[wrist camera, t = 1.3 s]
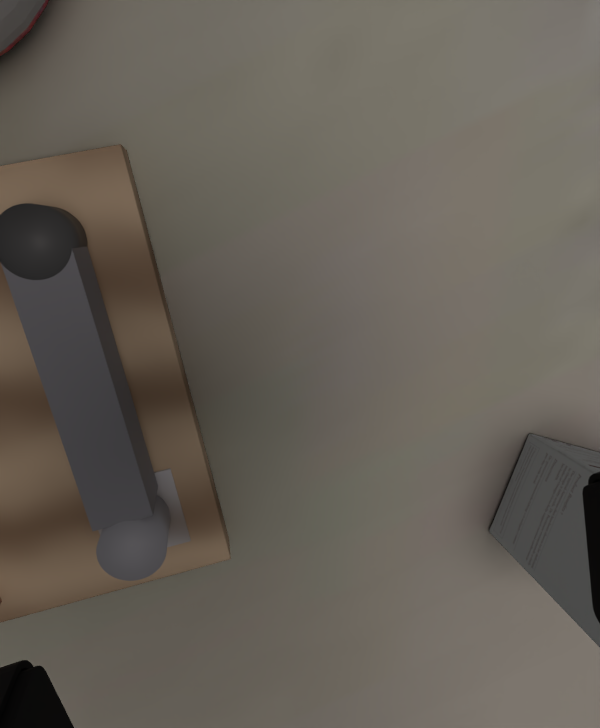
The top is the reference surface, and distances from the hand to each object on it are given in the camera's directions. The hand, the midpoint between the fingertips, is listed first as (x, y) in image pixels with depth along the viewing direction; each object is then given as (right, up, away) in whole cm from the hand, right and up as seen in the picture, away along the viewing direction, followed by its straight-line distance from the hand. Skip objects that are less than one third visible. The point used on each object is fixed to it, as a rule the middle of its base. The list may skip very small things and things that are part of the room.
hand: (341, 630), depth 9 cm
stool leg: (-10, +3, +17) cm, 21 cm away
